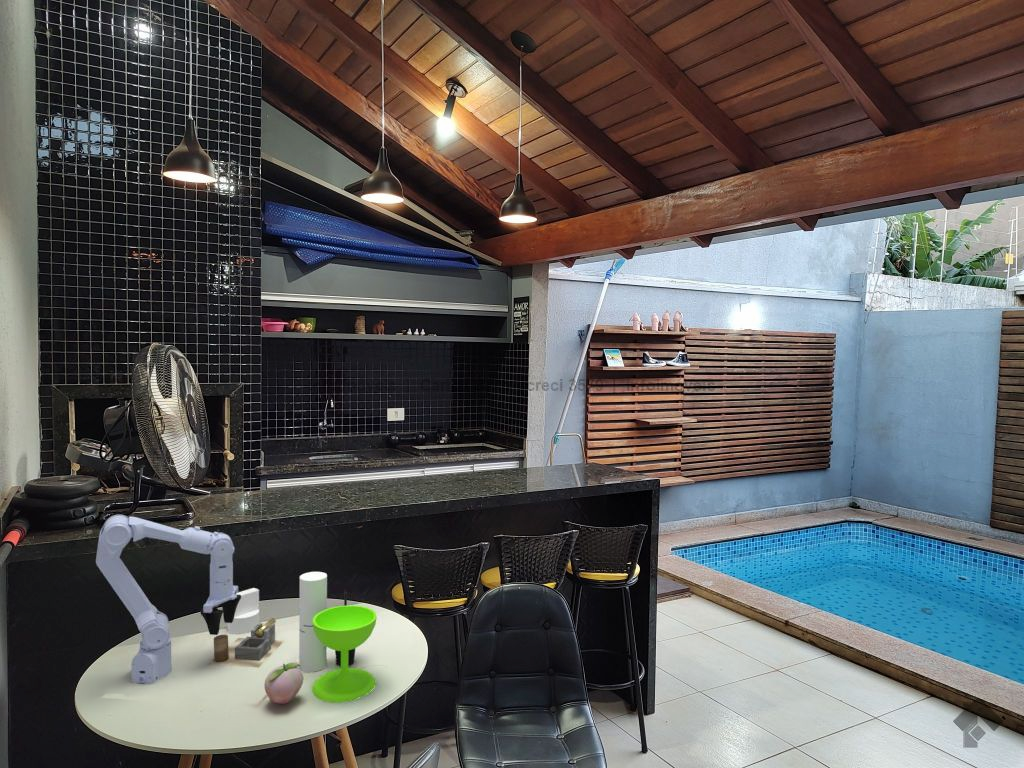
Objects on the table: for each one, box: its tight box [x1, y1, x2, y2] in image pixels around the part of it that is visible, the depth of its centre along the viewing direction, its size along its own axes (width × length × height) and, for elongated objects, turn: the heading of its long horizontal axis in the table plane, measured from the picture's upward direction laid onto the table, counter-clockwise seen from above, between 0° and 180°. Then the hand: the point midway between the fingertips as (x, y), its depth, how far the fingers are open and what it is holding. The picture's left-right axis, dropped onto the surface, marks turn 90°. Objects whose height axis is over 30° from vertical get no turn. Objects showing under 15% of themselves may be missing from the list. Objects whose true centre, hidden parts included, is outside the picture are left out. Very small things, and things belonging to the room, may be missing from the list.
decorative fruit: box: [263, 662, 305, 705], centre depth 161 cm, size 9×8×10 cm
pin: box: [256, 617, 277, 637], centre depth 191 cm, size 9×2×2 cm, turn 175°
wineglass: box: [311, 604, 378, 703], centre depth 169 cm, size 16×16×18 cm
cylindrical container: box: [298, 571, 328, 673], centre depth 179 cm, size 7×7×25 cm
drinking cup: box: [334, 590, 356, 667], centre depth 182 cm, size 8×8×20 cm
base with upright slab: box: [226, 587, 260, 635], centre depth 200 cm, size 9×9×12 cm
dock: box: [208, 622, 285, 668], centre depth 184 cm, size 16×14×6 cm
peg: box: [213, 634, 229, 662], centre depth 180 cm, size 4×4×6 cm
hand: (221, 628), depth 180 cm, fingers open, 7 cm apart
